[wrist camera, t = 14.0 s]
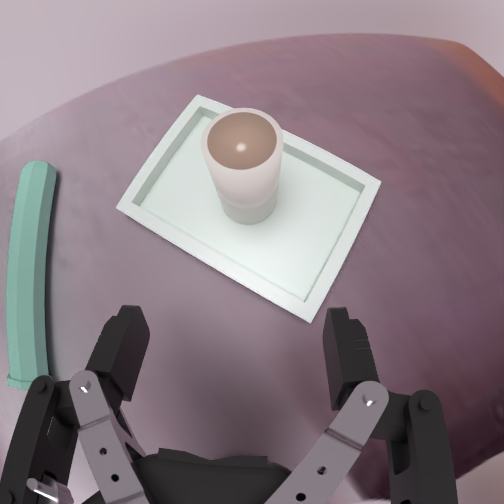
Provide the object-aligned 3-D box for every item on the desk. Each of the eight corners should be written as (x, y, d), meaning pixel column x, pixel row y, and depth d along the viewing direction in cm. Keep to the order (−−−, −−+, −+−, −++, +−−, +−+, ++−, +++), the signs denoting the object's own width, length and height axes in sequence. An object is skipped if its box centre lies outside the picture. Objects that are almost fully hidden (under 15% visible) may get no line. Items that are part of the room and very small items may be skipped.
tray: (126, 215, 29) (115, 207, 26) (201, 108, 30) (197, 94, 28) (306, 321, 26) (310, 323, 24) (372, 191, 28) (381, 182, 25)
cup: (210, 209, 27) (185, 155, 17) (238, 165, 28) (227, 97, 18) (259, 234, 27) (258, 190, 17) (286, 188, 27) (297, 125, 18)
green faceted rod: (13, 153, 25) (-2, 386, 20) (57, 151, 27) (45, 392, 22) (28, 174, 30) (18, 376, 25) (67, 174, 32) (60, 381, 27)
